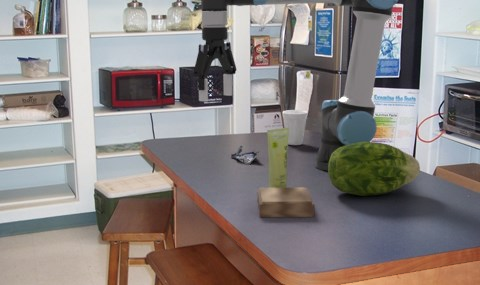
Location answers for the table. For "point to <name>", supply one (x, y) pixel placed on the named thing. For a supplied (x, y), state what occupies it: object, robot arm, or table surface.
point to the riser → (285, 202)
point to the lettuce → (371, 168)
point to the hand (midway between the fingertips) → (216, 98)
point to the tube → (278, 157)
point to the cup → (295, 125)
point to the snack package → (245, 155)
